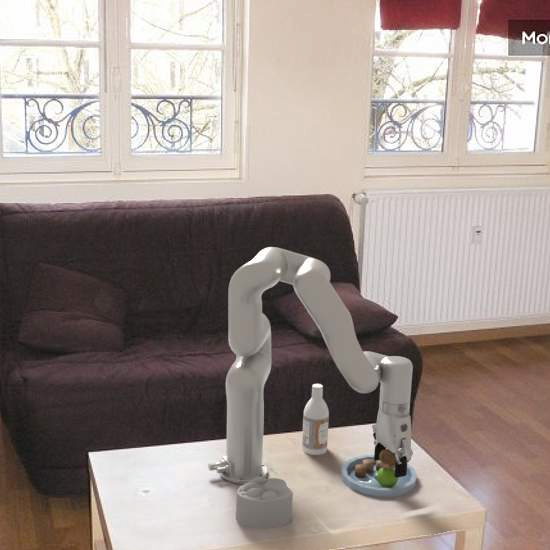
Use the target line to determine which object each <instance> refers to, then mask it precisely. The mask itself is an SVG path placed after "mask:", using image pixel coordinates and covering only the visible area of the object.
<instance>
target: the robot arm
mask: <svg viewBox="0 0 550 550" xmlns="http://www.w3.org/2000/svg"><path fill="white" fill-rule="evenodd" d="M279 282H282V283H286V284H289V285H292V287H293V289H294V290H293V291H294V292H295V294H296V296H297V298H298V299H299V300H300V301H301V303H302V305H303V306H304V308H305V309H306V311H307V313H308V314H309V315H310V317H311V318H312V320H313V321H314V323H315V325H316V326H317V328H318V329H319V331H320V333H321V335H322V338H323V340H324V342H325V344H326V346H327V348H328V351H329V353H330V356H331V357H332V360H333V362H334V364H335V365H336V367H337V368H338V370H339V371H340V374H341V375H342V376H343V377H344V379H345V381H346V382H347V383H348V385H349V386H350V387H351V388H352V390H354V391H355V392H357V393H360V394H368V393H369V394H370V393H371V392H373V391H375V390H376V389H377V388H378V386H379V384H380V389H379V391H380V392H379V405H378V406H379V407H378V412H377V416H376V417H377V418H376V423H374V424H372V425H371V427H372V436H373V440H374V441H373V444H374V454H373V455H374V460H375V461H378V460H380V459H379V455H380V453H381V451H383V450H385V449H388V450H390V451H391V452H392V453H394V454H395V456H396V460H397V462H396V463H395V475H394V476H395V477H396V478H398V477H403V476H406V473H407V463H409V462H410V461H411V459H412V456H413V454H414V451H413V450H412V423H411V422H412V420H411V419H412V418H411V415H410V406H411V405H410V404H411V393H412V384H413V383H412V381H413V369H414V368H413V367H414V366H413V365H414V364H413V363H412V361H411V359H409V358H406V357H404V356H399V355H391V356H389V355H386V354H381V353H378V352H373V351H367V350H364V351H363V349H362V347H361V345H360V343H359V340H358V338H357V335H356V330H355V326H354V325H355V324H354V322H353V321H354V320H353V318H352V315H351V312H350V311H349V309H348V308H347V306H346V305H345V303H344V302H343V300H342V299H341V297H340V295H339V294H338V293H337V291H336V290H335V288H334V286H333V285H332V283H331V271H330V269H329V267H328V265H327V264H326V263H325V262H323V261H322V260H319V259H317V258H315V257H312V256H308V255H305V254H301V253H297V252H293V251H292V250H291V251H290V250H287V249H284V248H280V247H275V246H274V247H273V246H269V247H265V248H263V249H261V250H259V252H257V254H256V255H255V256H254V257H253V258H252V259H251V260H250V261H248V262H246V263H245V264H243V265H242V266H240V267H239V268H238V269H237V270H235V272H234V273H233V275H232V276H231V278H230V281H229V284H228V290H227V291H228V292H227V293H228V294H227V296H228V299H227V300H228V301H227V303H228V306H227V307H228V308H227V309H228V310H227V311H228V313H227V316H228V317H227V318H228V320H227V321H228V323H227V324H228V325H227V326H228V328H227V329H228V330H227V331H228V333H227V334H228V335H227V338H228V339H227V340H228V344H229V347H230V349H231V351H232V352H233V354H235V356H236V357H235V361H234V362H233V363H232V365H231V366H230V368H229V370H228V371H227V374H226V379H225V395H226V450H225V451H226V454H225V455H223V456H222V459H220V460H219V461H217V462H210V463H208V470H209V471H216V473H217V474H220V477H222V478H223V479H224V480H226V481H228V482H230V483H232V484H238V485H244V484H245V483H247V482H249V481H252V480H253V479H254V478H255V477H257V476H263V477H265V478H266V479H267V477H268V474H269V468H268V467H267V465H266V464H265V463H264V462H263V457H264V456H263V455H264V454H263V451H264V450H263V449H264V421H265V418H264V417H265V415H264V413H265V410H264V409H265V403H264V389H265V384H266V382H267V380H268V378H269V376H270V373H271V369H272V330H271V328H272V327H271V323H270V320H269V319H268V317H267V316H266V314H264V313H263V299H262V295H263V293H264V292H265V291H266V290H269V289H270V288H271V289H272V288H273V287H274V286H276V285H277V284H278V283H279ZM401 449H402V450H401ZM400 453H403V457H402V458H400V455H399V454H400Z"/></svg>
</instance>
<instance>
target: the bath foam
mask: <svg viewBox="0 0 550 550" xmlns="http://www.w3.org/2000/svg"><path fill="white" fill-rule="evenodd" d="M311 385H312V386H311V398H310V399H309V400H308V401H307V403H306V405H305V407H304V409H303V418H302V419H303V420H302V440H301V441H302V443H301V445H302V446H301V450H302V452H304V453H305V454H307V455H310V456H311V455H312V456H320V455H321V456H322V455H324V454H325V453H327V451H328V436H329V435H328V434H329V418H330V411H329V407H328V405H327V403H326V401H325V400H324V398H323V391H324V385H322V384H321V383H313V384H311Z"/></svg>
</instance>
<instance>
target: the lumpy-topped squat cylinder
mask: <svg viewBox="0 0 550 550" xmlns="http://www.w3.org/2000/svg"><path fill="white" fill-rule="evenodd" d="M293 495H294V493H293V490H292V489H291V488H290V487H288V485H287V483H286V480H284V479H281V478H277V477H268V478H267V477H266V478H265V477H263V476H257V477H255V478H254V479H253V480H252V481H249V482H247V483H245V484H241V485H240V486H239V487H238V488H237V490H236V502H235V503H236V506H235V521H236V522H237V523H239V524H240V525H241V526H244V527H248V528H249V527H250V528H252V529H269V528H270V529H271V528H276V527H280V526H284V525H287V524H289V523H291V522H292V519H293Z"/></svg>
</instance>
